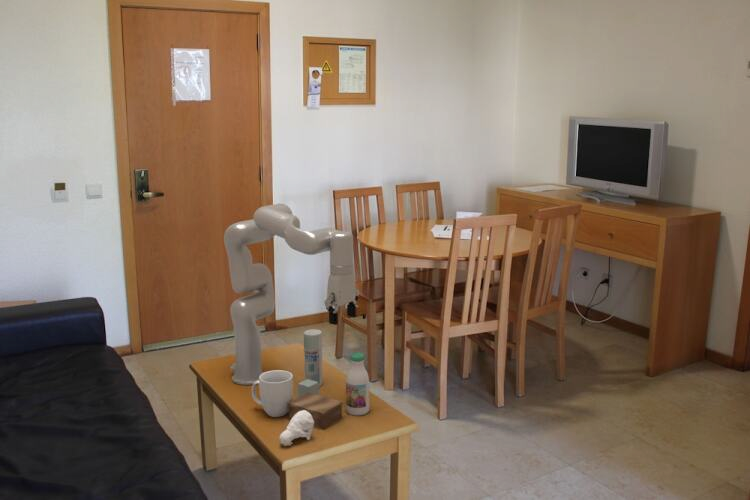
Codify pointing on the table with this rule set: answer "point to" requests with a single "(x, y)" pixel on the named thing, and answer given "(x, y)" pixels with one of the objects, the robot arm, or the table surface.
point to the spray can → (313, 355)
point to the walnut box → (317, 409)
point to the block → (308, 387)
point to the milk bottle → (357, 386)
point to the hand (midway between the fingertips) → (342, 320)
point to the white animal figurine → (298, 427)
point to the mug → (274, 392)
